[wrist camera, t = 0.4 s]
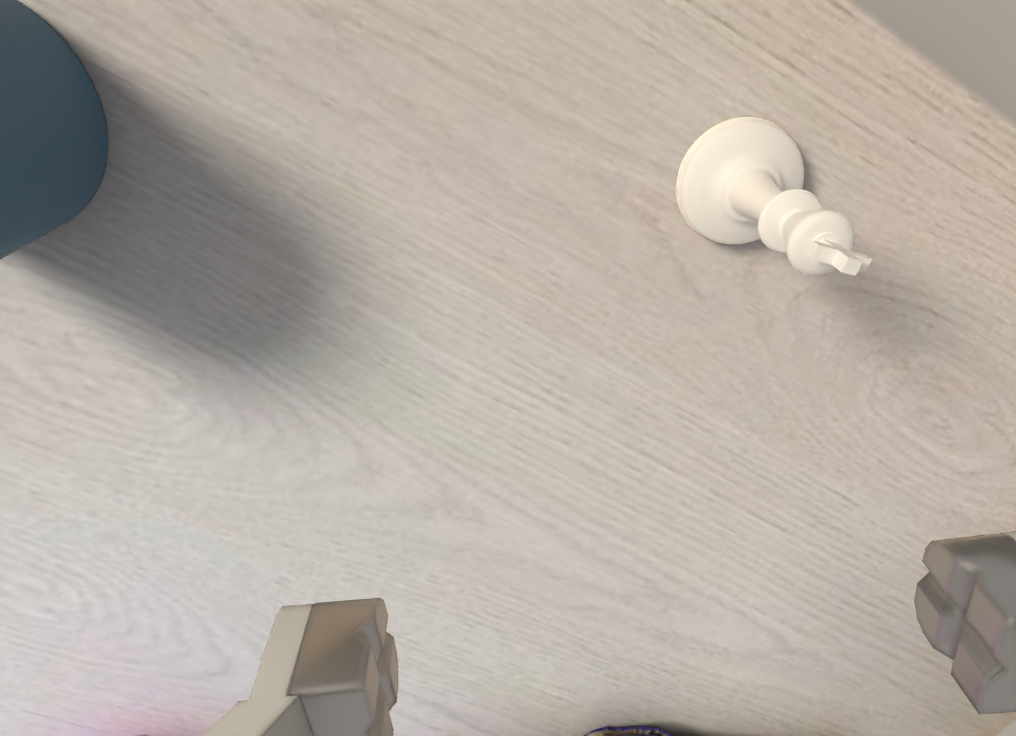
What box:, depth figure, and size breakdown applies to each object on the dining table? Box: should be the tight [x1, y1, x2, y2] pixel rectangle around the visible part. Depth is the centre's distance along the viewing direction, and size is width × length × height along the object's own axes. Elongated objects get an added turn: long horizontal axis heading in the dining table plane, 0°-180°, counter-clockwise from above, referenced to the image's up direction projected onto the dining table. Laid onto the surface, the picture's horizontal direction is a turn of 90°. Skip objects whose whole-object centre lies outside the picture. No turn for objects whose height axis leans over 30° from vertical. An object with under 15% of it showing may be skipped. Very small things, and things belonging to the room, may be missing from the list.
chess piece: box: [676, 117, 872, 276], centre depth 25 cm, size 5×5×10 cm
